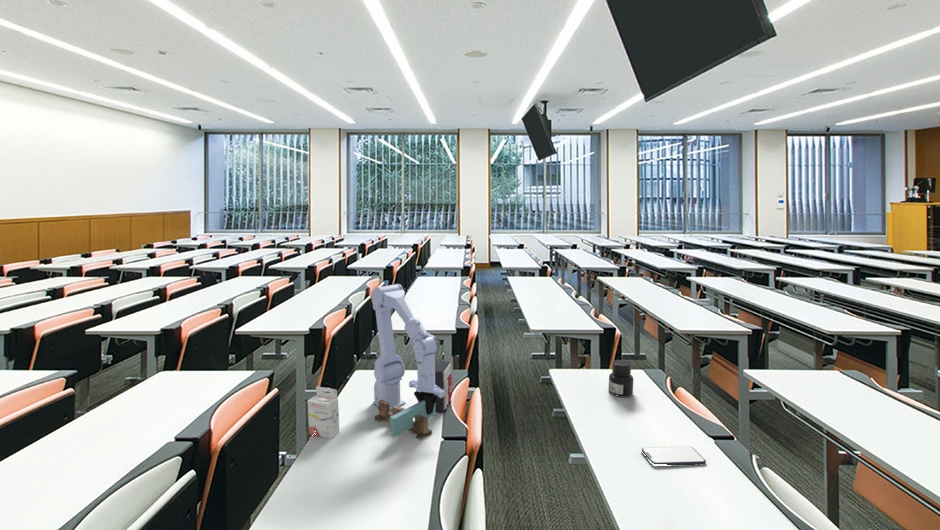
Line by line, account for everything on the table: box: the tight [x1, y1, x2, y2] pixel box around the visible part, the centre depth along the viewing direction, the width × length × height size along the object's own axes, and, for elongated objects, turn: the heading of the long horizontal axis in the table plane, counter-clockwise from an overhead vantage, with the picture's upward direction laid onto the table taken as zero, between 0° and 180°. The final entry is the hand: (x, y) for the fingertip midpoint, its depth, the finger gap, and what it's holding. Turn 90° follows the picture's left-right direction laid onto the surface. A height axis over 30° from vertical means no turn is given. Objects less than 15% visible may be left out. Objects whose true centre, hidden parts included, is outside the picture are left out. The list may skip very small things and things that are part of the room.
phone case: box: [641, 446, 707, 466], centre depth 143 cm, size 9×2×16 cm
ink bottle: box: [607, 359, 634, 397], centre depth 187 cm, size 10×9×12 cm
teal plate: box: [389, 400, 437, 438], centre depth 158 cm, size 18×2×6 cm, turn 140°
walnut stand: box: [374, 400, 433, 441], centre depth 162 cm, size 22×5×6 cm, turn 51°
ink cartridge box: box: [307, 385, 340, 440], centre depth 157 cm, size 9×5×15 cm, turn 71°
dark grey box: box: [435, 360, 453, 413], centre depth 176 cm, size 11×4×15 cm, turn 168°
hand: (427, 412), depth 163 cm, fingers closed on teal plate, 2 cm apart
